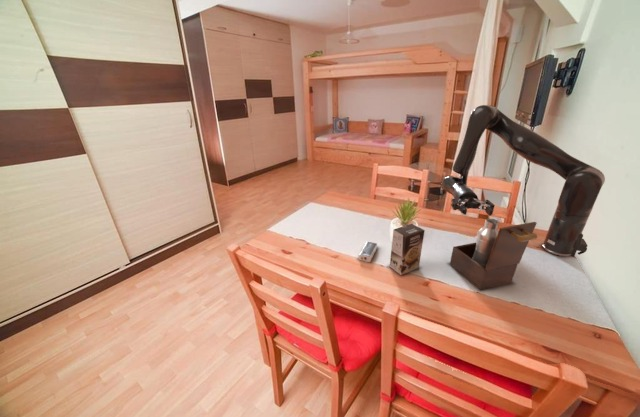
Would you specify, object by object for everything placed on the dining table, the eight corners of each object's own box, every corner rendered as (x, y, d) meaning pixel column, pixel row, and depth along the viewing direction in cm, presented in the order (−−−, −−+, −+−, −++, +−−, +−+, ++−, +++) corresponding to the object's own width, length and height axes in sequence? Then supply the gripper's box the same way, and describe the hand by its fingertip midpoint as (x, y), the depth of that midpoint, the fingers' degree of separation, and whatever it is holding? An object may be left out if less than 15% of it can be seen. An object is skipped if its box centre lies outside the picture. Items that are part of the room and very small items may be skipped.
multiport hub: (377, 247, 110) (377, 243, 109) (369, 262, 101) (370, 257, 100) (366, 245, 112) (367, 241, 111) (358, 259, 103) (359, 254, 102)
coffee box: (401, 275, 93) (405, 237, 87) (389, 266, 99) (392, 228, 92) (419, 267, 97) (425, 230, 90) (407, 259, 102) (411, 222, 96)
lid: (499, 227, 75) (514, 236, 71) (534, 221, 78) (550, 229, 74) (484, 269, 82) (497, 279, 78) (517, 262, 85) (530, 271, 81)
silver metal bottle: (493, 277, 90) (508, 226, 81) (471, 275, 91) (484, 225, 83) (486, 266, 95) (500, 217, 87) (466, 264, 97) (477, 216, 88)
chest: (449, 264, 98) (453, 246, 95) (477, 258, 101) (482, 241, 98) (480, 290, 86) (485, 270, 82) (511, 282, 88) (517, 263, 85)
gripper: (448, 187, 111) (459, 202, 96) (484, 188, 108) (502, 204, 94) (445, 204, 114) (455, 221, 99) (481, 205, 111) (497, 222, 97)
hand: (478, 212), depth 97 cm, fingers open, 8 cm apart
